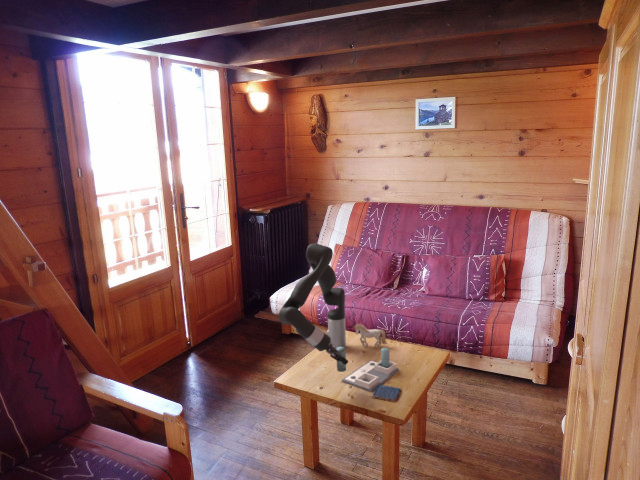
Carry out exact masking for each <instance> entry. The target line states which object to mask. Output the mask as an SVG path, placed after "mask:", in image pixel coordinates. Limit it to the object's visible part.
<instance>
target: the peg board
mask: <svg viewBox="0 0 640 480" xmlns="http://www.w3.org/2000/svg"><path fill="white" fill-rule="evenodd" d="M399 371H400V368H398V367H397V363H396V362H393V361H391V360H390V348H388V347H382V348H381V349H380V361H376V360H372V359H370V360H369V361H367V362H365V363H364V364H363V365H361V366H359V367H358V368H356V369H355V370H354V371H353V372H351V373H350V374H348V375H346V376H345V377H344V378H341V382H342V383H345V384H347V385H350V386H353V387H354V388H355V387H356V388H358V389H361V390H364V391H367V392H369V393H372V392H374V391H376V389H377V387H379V386H378V385H383V384H384V383H385V382H386V381H387V380H389V379H390V378H392V377H393V376H394V375H395V374H396V373H397V372H399Z"/></svg>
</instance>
